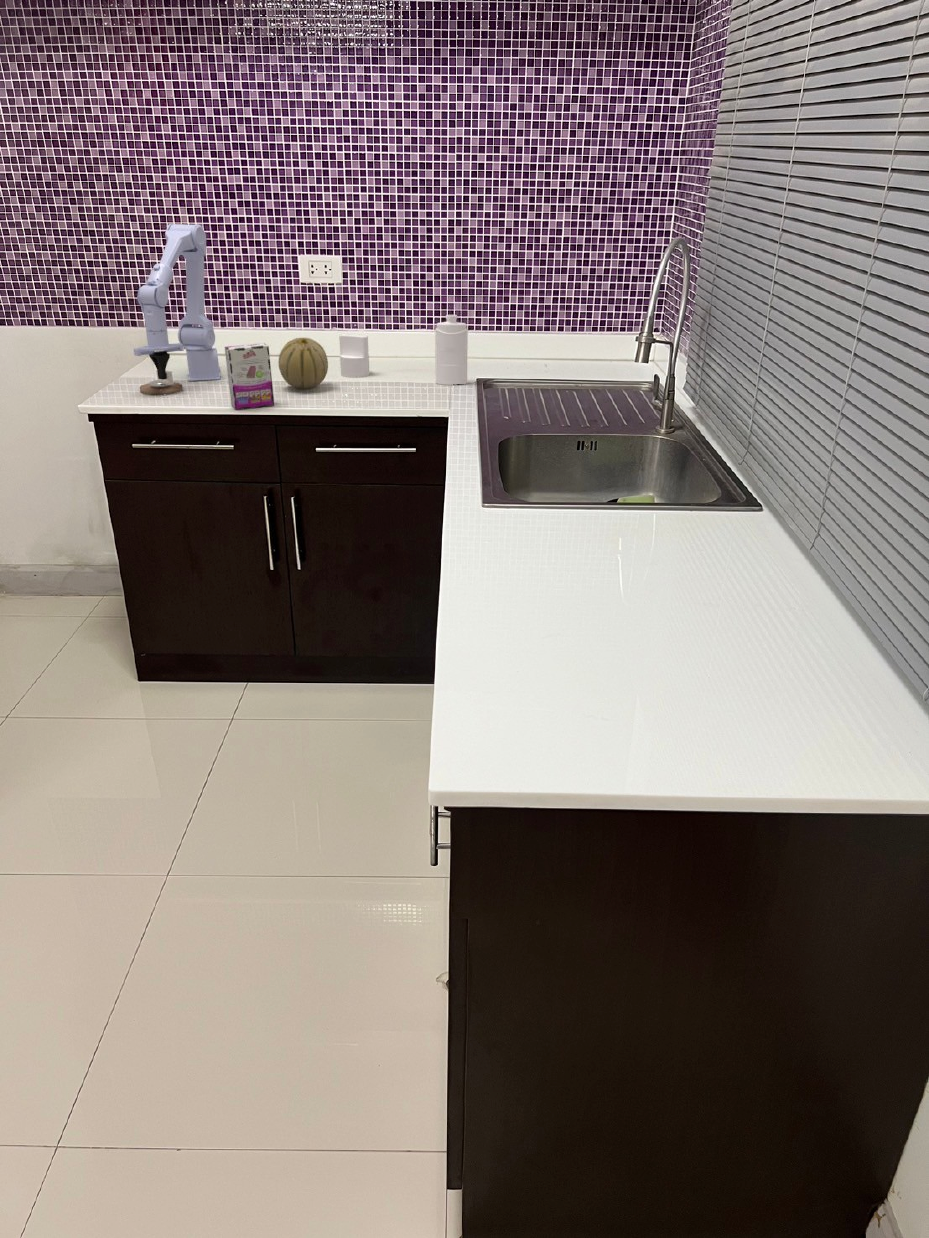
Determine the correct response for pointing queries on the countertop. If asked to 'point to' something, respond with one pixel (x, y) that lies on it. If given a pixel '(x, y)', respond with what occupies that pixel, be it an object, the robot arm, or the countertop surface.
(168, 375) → the dial
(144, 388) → the base
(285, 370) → the cantaloupe
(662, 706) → the countertop surface
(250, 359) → the candy bar box
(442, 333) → the squeeze bottle
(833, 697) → the countertop surface
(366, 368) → the cylinder with rectangular tab
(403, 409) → the countertop surface
